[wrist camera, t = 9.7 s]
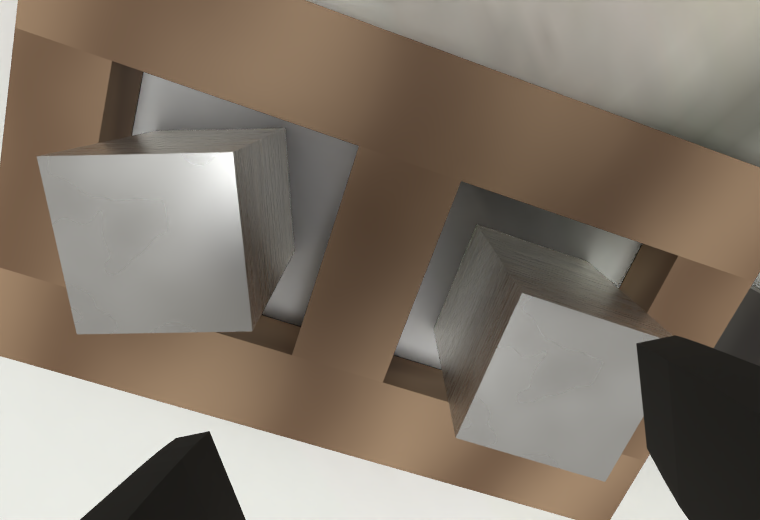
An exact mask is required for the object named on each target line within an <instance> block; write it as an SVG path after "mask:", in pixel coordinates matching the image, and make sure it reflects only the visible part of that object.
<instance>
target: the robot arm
mask: <svg viewBox="0 0 760 520" xmlns="http://www.w3.org/2000/svg"><path fill="white" fill-rule="evenodd" d="M636 346H637V356H638V365H639V375H640V385H641V395H642V405H643V415H644V425H645V435H646V445H647V449H648V451H649V453H650V455H651V457H652V459H653V460H654V462H655V464H656V466H657V468H658V470H659V471H660V473H661V475H662V477H663V479H664V480H665V482H666V484H667V486H668V487H669V489H670V491H671V493H672V494H673V496H674V498H675V500H676V501H677V503H678V505H679V506H680V508H681V509H682V511H683V512H684V514H685V515H686V516H687V518H688V519H689V520H760V366H758V365H755V364H753V363H750V362H748V361H745V360H743V359H740V358H737V357H735V356H732V355H730V354H727V353H725V352H722V351H719V350H717V349H714V348H711V347H709V346H706V345H703V344H701V343H698V342H695V341H692V340H689V339H686V338H683V337H680V336H676V335H674V336H669V337H664V338H659V339H655V340H650V341H645V342H640V343H636ZM80 520H245V517H244V515H243V512H242V510H241V507H240V505H239V502H238V500H237V498H236V495H235V493H234V490H233V488H232V485H231V483H230V480H229V478H228V476H227V473H226V471H225V468H224V466H223V463H222V461H221V458H220V456H219V454H218V451H217V449H216V446H215V444H214V441H213V439H212V436H211V434H210V432H209V431H208V432H204V433H199V434H194V435H189V436H184V437H179V438H176V439H174V440H173V441H172V442H170V443H169V444H167V445H166V446H165V447H163V448H162V449H161V450H160V451H158V452H157V453H156V454H155V455H153V456H152V457H151V458H150V459H149V460H148V461H146V462H145V463H144V464H143V465H142V466H140V467H139V468H138V469H137V470H136V471H135V472H134V473H132V474H131V475H130V476H129V477H128V478H127V479H126V480H125V481H123V482H122V483H121V484H120V485H119V486H118V487H117V488H115V489H114V490H113V491H112V492H111V493H110V494H109V495H108V496H106V497H105V498H104V499H103V500H102V501H101V502H100V503H98V504H97V505H96V506H95V507H94V508H93V509H92V510H91V511H89V512H88V513H87V514H86V515H85V516H84V517H83V518H82V519H80Z"/></svg>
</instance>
